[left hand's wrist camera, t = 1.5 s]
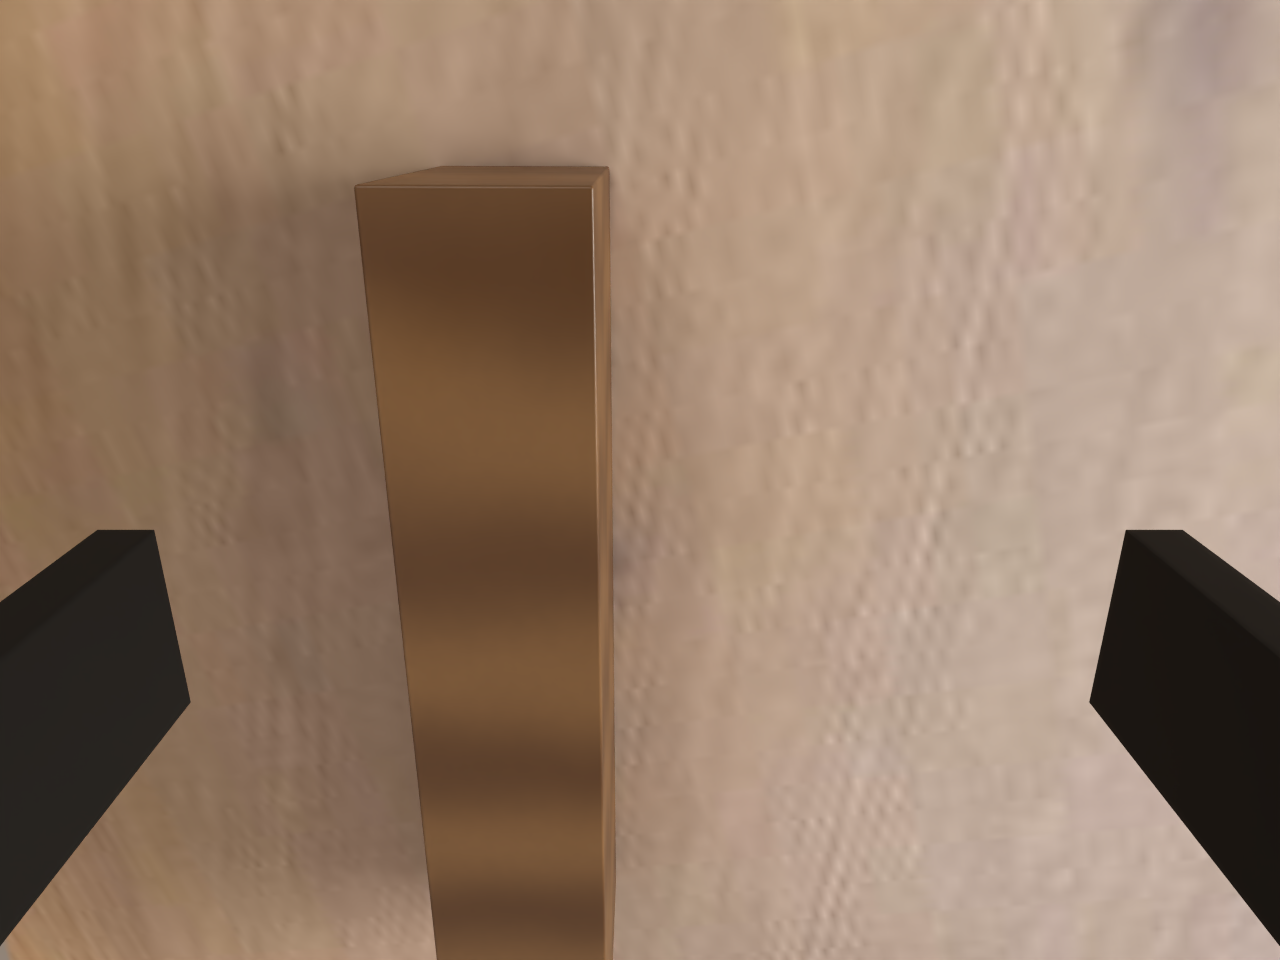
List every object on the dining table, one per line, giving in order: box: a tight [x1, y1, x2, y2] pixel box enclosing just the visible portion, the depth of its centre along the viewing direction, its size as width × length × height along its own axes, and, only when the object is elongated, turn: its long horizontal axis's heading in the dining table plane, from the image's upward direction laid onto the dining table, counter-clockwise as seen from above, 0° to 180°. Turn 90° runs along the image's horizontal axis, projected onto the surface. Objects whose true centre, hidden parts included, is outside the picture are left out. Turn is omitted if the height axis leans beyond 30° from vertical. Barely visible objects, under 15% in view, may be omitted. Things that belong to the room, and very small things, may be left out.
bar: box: [354, 166, 616, 960], centre depth 26 cm, size 26×5×8 cm, turn 0°
